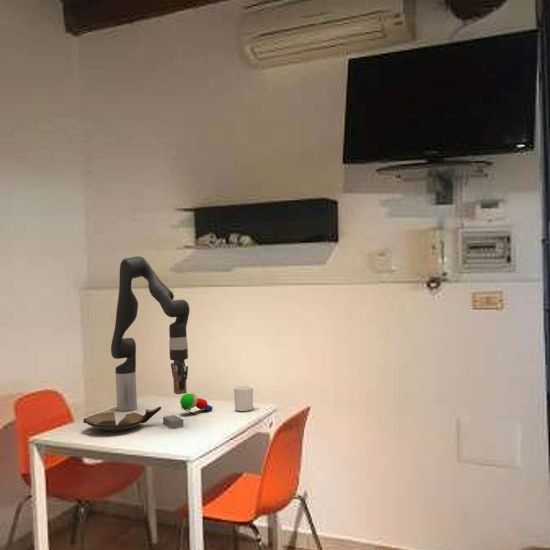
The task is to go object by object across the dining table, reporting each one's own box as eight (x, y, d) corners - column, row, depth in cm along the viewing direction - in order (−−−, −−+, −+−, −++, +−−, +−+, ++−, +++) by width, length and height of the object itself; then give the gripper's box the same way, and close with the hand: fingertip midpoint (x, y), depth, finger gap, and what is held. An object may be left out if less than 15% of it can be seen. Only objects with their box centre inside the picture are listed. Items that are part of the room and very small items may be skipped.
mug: (251, 412, 264) (250, 389, 264) (232, 412, 266) (231, 389, 266) (256, 406, 275) (255, 384, 275) (238, 406, 277) (237, 384, 276)
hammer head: (163, 423, 250) (163, 416, 250) (174, 422, 252) (174, 414, 252) (171, 428, 241) (171, 421, 241) (183, 426, 244) (183, 419, 244)
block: (174, 392, 249) (173, 369, 249) (183, 391, 251) (182, 368, 251) (177, 394, 246) (176, 370, 246) (186, 393, 248) (185, 369, 248)
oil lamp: (97, 422, 257) (96, 405, 257) (165, 421, 254) (164, 403, 254) (74, 437, 234) (73, 417, 234) (148, 436, 231) (148, 416, 231)
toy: (199, 417, 273) (173, 405, 265) (206, 401, 276) (181, 388, 268) (209, 420, 267) (183, 408, 259) (216, 403, 269) (191, 391, 261)
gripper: (164, 347, 253) (165, 387, 253) (176, 350, 240) (177, 392, 240) (180, 345, 256) (182, 385, 256) (193, 348, 244) (195, 390, 244)
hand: (180, 388), depth 248 cm, fingers closed on block, 4 cm apart
